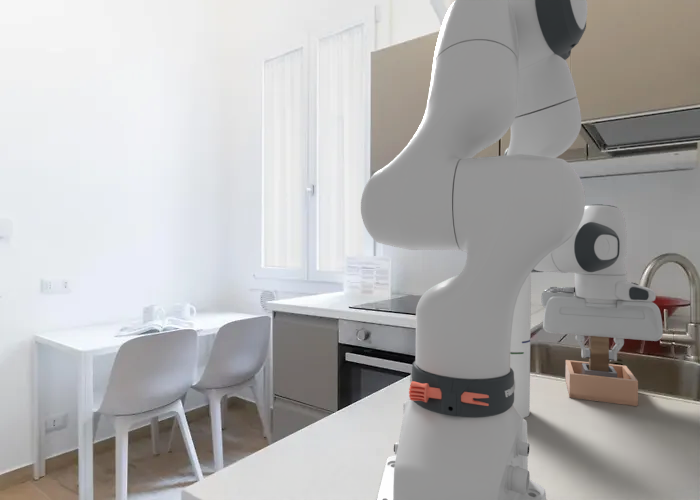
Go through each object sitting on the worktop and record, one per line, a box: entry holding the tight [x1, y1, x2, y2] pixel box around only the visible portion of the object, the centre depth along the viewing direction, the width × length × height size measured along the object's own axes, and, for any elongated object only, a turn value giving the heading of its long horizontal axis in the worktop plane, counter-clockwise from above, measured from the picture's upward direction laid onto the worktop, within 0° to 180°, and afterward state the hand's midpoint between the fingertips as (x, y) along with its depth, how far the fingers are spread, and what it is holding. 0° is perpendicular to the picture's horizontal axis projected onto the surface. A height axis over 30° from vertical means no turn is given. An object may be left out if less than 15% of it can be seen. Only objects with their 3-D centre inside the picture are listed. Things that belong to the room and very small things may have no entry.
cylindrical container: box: [510, 272, 532, 419], centre depth 76 cm, size 7×7×25 cm
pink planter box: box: [564, 359, 639, 407], centre depth 86 cm, size 11×11×5 cm
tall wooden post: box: [588, 336, 610, 372], centre depth 86 cm, size 3×3×12 cm
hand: (598, 359), depth 86 cm, fingers closed on tall wooden post, 3 cm apart
